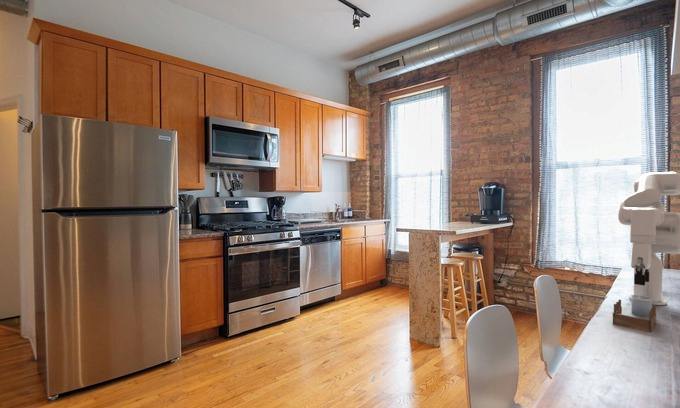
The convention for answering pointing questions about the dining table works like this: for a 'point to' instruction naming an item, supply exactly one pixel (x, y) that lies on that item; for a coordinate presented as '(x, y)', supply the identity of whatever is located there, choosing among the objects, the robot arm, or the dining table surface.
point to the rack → (634, 319)
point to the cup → (641, 305)
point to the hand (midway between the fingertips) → (641, 283)
